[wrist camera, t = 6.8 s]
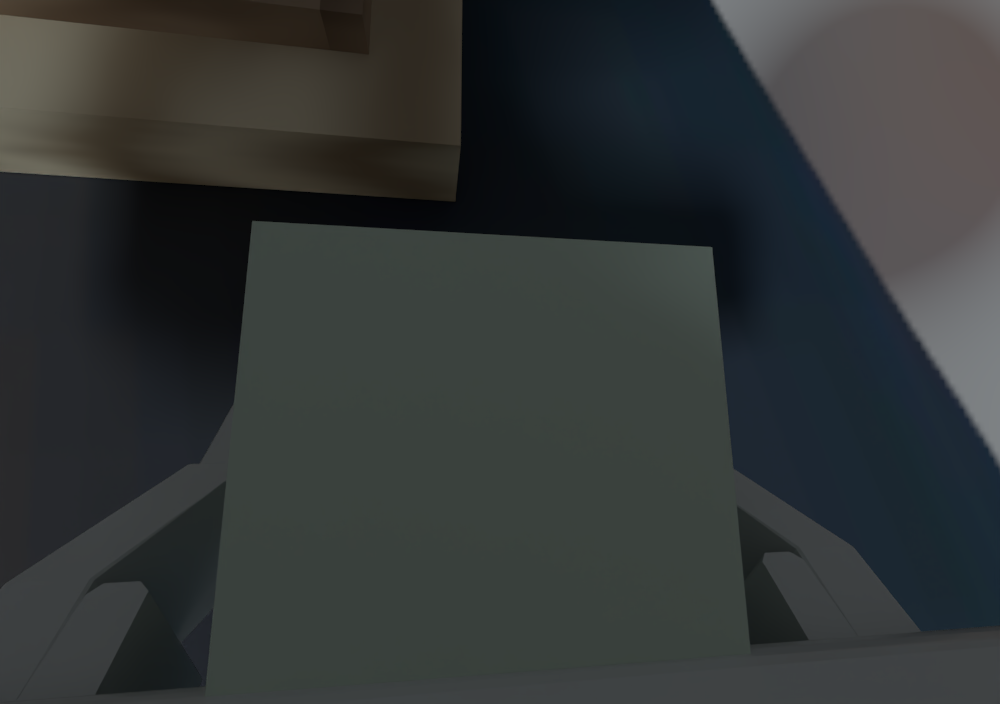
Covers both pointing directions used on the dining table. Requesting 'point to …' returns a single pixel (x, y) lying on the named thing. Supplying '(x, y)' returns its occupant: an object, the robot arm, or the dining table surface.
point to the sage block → (473, 461)
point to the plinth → (236, 93)
